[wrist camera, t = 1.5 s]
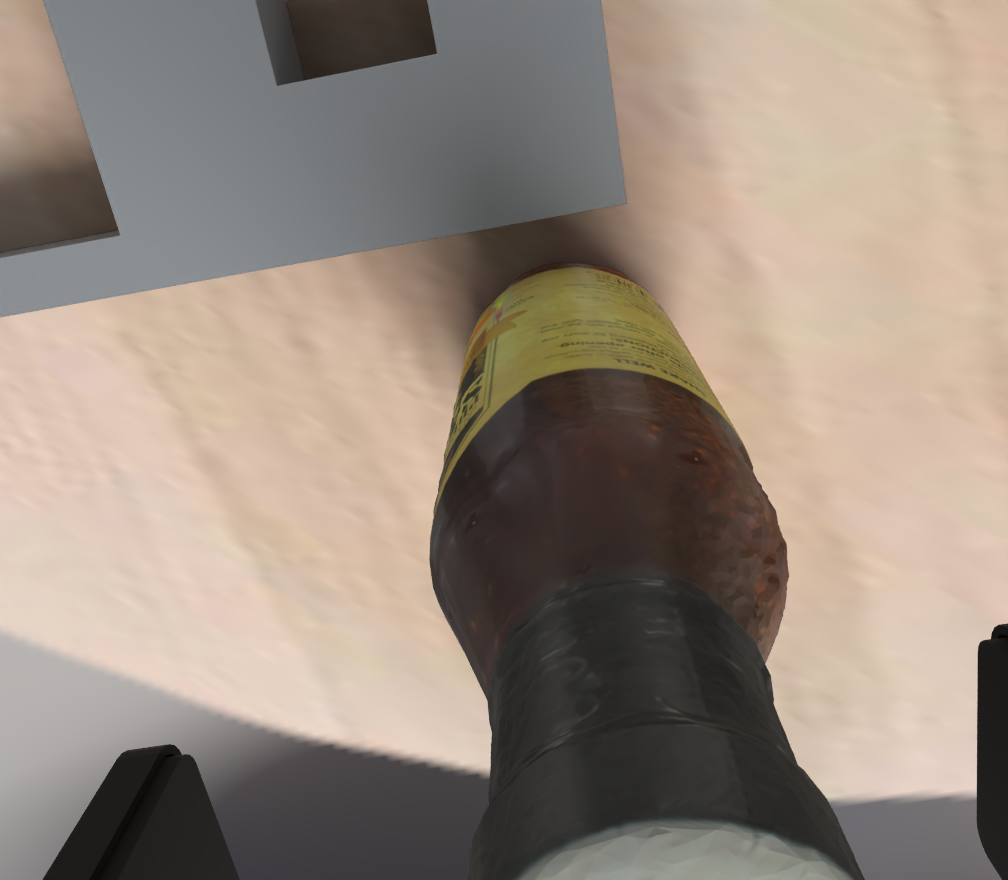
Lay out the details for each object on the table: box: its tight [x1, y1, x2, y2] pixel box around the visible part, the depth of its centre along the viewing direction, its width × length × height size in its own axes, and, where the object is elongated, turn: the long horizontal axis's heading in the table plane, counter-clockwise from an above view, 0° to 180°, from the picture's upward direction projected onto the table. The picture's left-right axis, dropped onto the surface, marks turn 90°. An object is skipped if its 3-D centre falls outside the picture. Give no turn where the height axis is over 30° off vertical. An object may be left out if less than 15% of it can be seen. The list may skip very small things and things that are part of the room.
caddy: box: [0, 0, 627, 317], centre depth 22 cm, size 23×12×3 cm, turn 100°
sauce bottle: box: [430, 263, 865, 880], centre depth 17 cm, size 7×6×20 cm
